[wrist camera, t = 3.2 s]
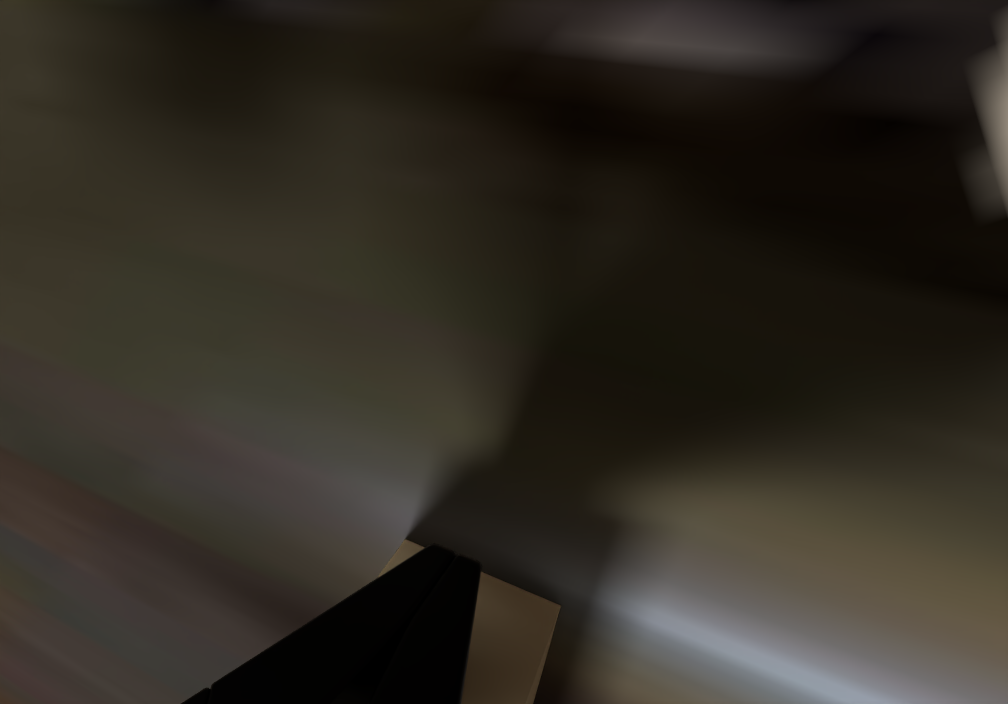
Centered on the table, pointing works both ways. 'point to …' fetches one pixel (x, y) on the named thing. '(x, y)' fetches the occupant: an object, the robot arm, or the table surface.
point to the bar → (502, 639)
